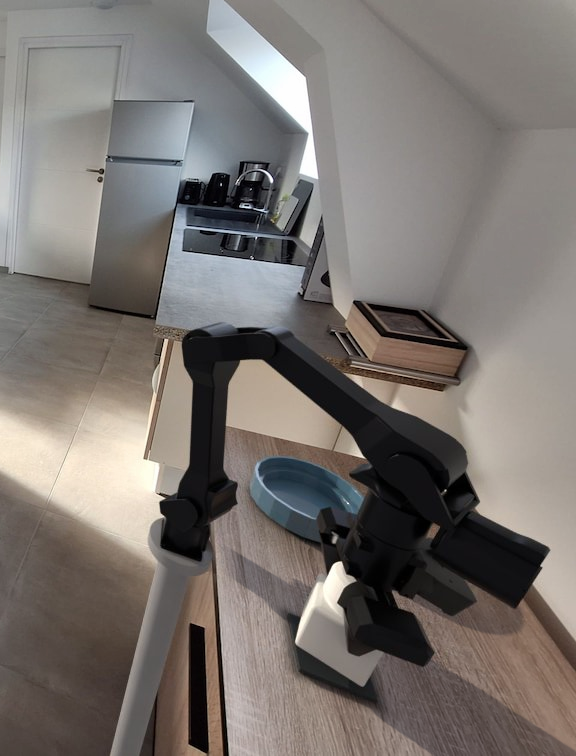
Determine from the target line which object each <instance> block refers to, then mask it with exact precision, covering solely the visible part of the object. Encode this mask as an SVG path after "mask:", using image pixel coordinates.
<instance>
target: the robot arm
mask: <svg viewBox="0 0 576 756" xmlns="http://www.w3.org/2000/svg"><path fill="white" fill-rule="evenodd" d="M181 353H182V354H181V355H182V361H183V367H184V369H185V371H186V372H187V374H188V376H189V378H190V380H191V383H192V388H191V389H192V391H191V412H190V413H191V414H190V437H189V459H188V466H187V468H186V470H185V472H184V474H183V475H182V477H181V479H180V481H179V483H178V486H177V491H176V492H175V493H173V494H171V495H169V496H167V497H165V498H163V499H162V500H160V501H158V505H159V513H160V514H161V515H162V516H163V517H165V518H164V519H163V520H162V527H161V538H160V547H161V548H162V549H165V550H168V551H171V552H173V553H176V554H179V555H182V556H185V557H187V558H190V559H193V560H196V561H199V562H201V561H202V551H203V552H205V551H206V548H207V544H208V541H209V540H210V537H211V523H213V522H214V521H216V520H217V519H219V518H221V517H222V516H225V515H226V514H227V513H229V512H230V511H231V510H233V508H234V507H235V506H237V505H239V502H238V498H237V491H238V489H239V488H238V487H239V483H238V482H237V481H235V480H233V479H230V478H229V476H228V474H227V473H226V471H225V467H224V465H225V464H224V462H225V447H226V434H227V433H226V432H227V431H226V430H227V418H228V417H227V416H228V399H229V385H230V382H231V381H232V379H233V377H234V376H235V373H236V372H237V370H238V368H239V367H240V365H241V361H251V360H252V361H263V362H264V363H265V364H267V365H268V366H269V367H271V369H273V370H274V371H275V372H277V373H278V374H279V375H280V376H281V377H282V378H284V379H285V380H286V381H287V382H289V383H290V384H291V385H292V386H293V387H294V388H296V389H297V390H298V391H299V392H300V393H302V394H303V395H304V396H305V397H307V399H309V400H310V401H311V402H313V403H314V404H315V405H317V406H318V407H319V408H320V409H321V410H322V411H323V412H325V413H327V415H329V416H330V417H331V418H332V419H333V420H335V422H336V423H338V424H339V425H340V426H342V427H343V428H344V429H345V430H346V431H347V432H348V433H349V435H350V436H351V437H352V439H353V440H354V442H355V445H356V446H357V448H358V449H359V452H360V453H361V455H362V456H363V458H364V459H365V460H366V461H367V462H368V463H365V462H364V463H361V464H360V465H358V466H356V467H355V468H353V469H352V470H351V471H349V472H348V476H349V478H351V479H352V480H355V481H356V482H357V483H360V484H362V485H364V486H365V487H366V488H368V489H367V491H366V494H365V495H364V497H365V498H364V500H363V502H362V504H361V507H360V509H359V511H358V513H357V514H354V513H350V512H347V511H344V510H340V509H337V508H333V507H327V508H324V509H320V511H319V514H318V516H317V519H316V520H317V523H318V526H319V536H320V541H321V543H320V545H321V546H320V547H321V552H322V557H323V563H324V568H325V573H326V574H325V575H327V576H328V574H329V572H330V570H331V568H332V566H333V564H335V563H336V562H342V564H343V567H344V570H345V573H346V575H349V576H352V577H354V578H356V579H358V580H359V581H360V582H362V583H363V586H364V588H365V591H366V594H367V596H368V597H365V596H359V597H354V598H350V600H349V602H348V604H347V608H346V607H343V616H344V625H345V636H346V645H347V651H348V653H350V654H352V655H355V656H358V657H360V656H362V655H364V654H367V653H369V652H372V651H374V650H379V651H381V652H383V654H387V655H390V656H392V657H395V658H398V659H400V660H403V661H404V662H405V661H406V662H408V663H411V664H413V665H416V666H418V667H421V668H424V667H426V666H428V665H429V663H430V662H431V660H432V658H433V657H434V655H435V654H436V652H435V649H434V647H433V646H432V643H431V641H430V639H429V637H428V635H427V633H426V631H425V628H424V626H423V624H422V622H421V620H420V619H419V618H418V617H417V616H416V615H415V613H414V612H411V611H409V610H406V609H403V608H400V607H399V606H398V603H397V601H396V598H395V596H393V595H394V593H393V591H395V592H397V593H398V595H399V596H401V597H403V598H406V599H408V600H409V599H410V600H414V599H415V597H416V595H417V596H419V597H420V598H421V599H423V600H425V601H427V602H428V603H430V604H432V605H433V606H434V607H437V608H438V609H440V610H441V611H442V613H443V614H445V615H447V616H449V617H454V616H456V615H457V614H460V613H462V612H463V611H464V610H467V609H468V608H470V607H472V606H473V605H475V604H476V603H478V599H477V597H476V596H475V594H474V592H473V591H472V589H471V587H470V585H469V584H468V583H470V584H472V585H473V586H474V587H477V588H478V589H480V590H481V591H483V592H485V594H488V595H490V596H492V597H493V598H495V599H497V600H498V601H500V602H501V603H503V604H504V605H507V606H508V607H510V608H511V609H513V610H516V609H517V608H518V606H519V605H520V603H521V602H522V601H523V599H524V598H525V597H526V595H527V593H528V592H529V591H530V588H531V587H532V586H533V584H534V583H535V581H536V579H537V578H538V576H539V575H540V573H541V572H542V570H543V569H544V566H542V564H543V563H544V561H545V559H546V558H547V557H548V555H549V554H550V553H551V548H550V547H549V546H547V545H546V544H544V543H542V542H540V541H538V540H536V539H534V538H532V537H530V536H526V535H523V534H520V533H518V532H516V531H513V530H511V529H510V528H508V527H506V526H503V525H502V524H500V523H497V522H496V521H494V520H491V519H490V518H488V517H486V516H484V515H482V514H480V513H478V512H476V511H475V509H476V508H477V506H479V504H481V500H480V497H479V495H478V493H477V491H476V489H475V487H474V485H473V483H472V481H471V478H470V476H469V475H468V473H467V469H468V465H469V459H468V455H467V453H468V452H467V450H466V448H465V447H464V446H463V444H461V442H460V441H459V440H457V439H456V438H455V437H454V436H452V435H451V434H450V433H448V432H446V431H444V430H442V429H440V428H438V427H436V426H434V425H433V424H431V423H429V422H428V421H426V420H424V419H422V418H420V417H419V416H416V415H413V414H411V413H408V412H406V411H403V410H400V409H397V408H394V407H393V406H390V405H388V404H387V403H385V402H383V401H382V400H380V399H378V398H377V397H375V395H373V394H371V393H370V392H369V391H368V390H367V389H365V388H364V387H362V386H361V385H359V383H357V382H355V380H353V379H352V378H350V377H349V376H348V375H347V374H345V373H343V372H342V371H341V370H340V369H339V368H337V367H335V366H334V365H333V364H331V363H330V362H329V361H327V360H326V359H325V358H324V357H322V356H321V355H320V354H318V353H317V352H315V350H313V349H312V348H310V347H309V346H307V344H305V343H303V342H302V341H301V340H299V339H298V338H297V337H296V336H295V333H293V332H292V331H291V330H290V329H288V328H286V327H284V326H280V325H274V326H268V327H264V326H263V327H261V326H241V327H240V326H239V327H235V326H234V325H233V324H231V323H228V322H222V321H221V322H215V323H213V324H208V325H204V326H201V327H197V328H194V329H191V330H189V331H187V333H185V334H184V335H183V337H182V340H181ZM433 525H436V526H438V527H439V528H438V530H437V531H436V533H435V534H434V536H433V537H427V536H428V535H429V533H430V531H431V529H432V527H433ZM392 593H393V594H392Z"/></svg>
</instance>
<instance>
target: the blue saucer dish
mask: <svg viewBox="0 0 576 756" xmlns="http://www.w3.org/2000/svg"><path fill="white" fill-rule="evenodd" d="M248 486H249V493H250V496H251V497H252V499H253V501H254V502H255V504H256V506H257V507H258V508H259V509H260V510H261V511H262V512H263V513H264V514H265V515H266V516H267V517H268V518H270V519H271V520H272V521H274V522H276V523H277V524H278V525H280V526H281V527H283V528H284V529H285V530H287V531H290V532H292V533H294V534H295V535H298V536H300V537H302V538H304V539H307V540H311V541H314V542H318V543H320V544H321V541H320V536H319V526H318V523H317V520H316V519H317V516H318V514H319V511H320V509H324V508H327V507H333V508H337V509H340V510H344V511H347V512H350V513H354V514H357V513H358V511H359V509H360V507H361V504H362V502H363V500H364V498H365V495H363V494H362V493H361V492H360V491H359V490H358V489H357V487H356V486H354V485H353V484H352V483H350V482H349V481H347V480H346V479H345V478H343V477H342V476H341V475H339V474H337V473H335V472H333V471H332V470H330V469H328V468H326V467H324V466H321V465H319V464H316V463H314V462H312V461H308V460H306V459H301V458H298V457H294V456H285V455H271V456H265V457H263V458H261V459H259V460H258V461H257V462H256V464H255V466H254V468H253V471H252V475H251V478H250V481H249V484H248Z"/></svg>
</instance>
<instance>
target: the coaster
mask: <svg viewBox="0 0 576 756" xmlns="http://www.w3.org/2000/svg"><path fill="white" fill-rule="evenodd" d="M287 619H288V626H289V630H290V636H291V640H292V645H293V650H294V655H295V660H296V666H297V670H298V673H300V674H303V675H306V676H308V677H310V678H313V679H315V680H318V681H320V682H323V683H325V684H327V685H330V686H332V687H335V688H337V689H339V690H342V691H345V692H347V693H350V694H351V695H354V696H357V697H359V698H361V699H364V700H367V701H369V702H371V703H374V704H377V703H378V701H379V700H378V697H377V693H376V691H375V687H374V685H373V681H372V679H371V676H370V677H369V679H368V680H367V682H366V684H365V685H364V686H363V687H362V686H360V685H358V684H357V683H355V682H353V681H352V680H350V679H349V678H347V677H346V676H344V675H342V674H341V673H339V672H338V671H336V670H335V669H333V668H331V667H330V666H328V665H327V664H325V663H324V662H322V661H320V660H319V659H317V658H316V657H314V656H313V655H311V654H310V653H308V652H306V651H305V650H303V649H302V648H300V647H299V646H297V645H296V643H295V640H296V636H297V632H298V628H299V624H300V620H301V616H298V615H296V614H293V613H291V612H288V614H287Z"/></svg>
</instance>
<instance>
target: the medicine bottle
mask: <svg viewBox="0 0 576 756" xmlns="http://www.w3.org/2000/svg"><path fill="white" fill-rule="evenodd" d="M392 594H393V596H394V592H392ZM359 596H365V597H368V596H367V594H366V591H365V588H364V586H363V583H362V582H360V581H359V580H358V579H356V578H354V577H352V576H349V575H346V573H345V570H344V567H343V564H342V562H336V563H335V564H333V566H332V568H331V570H330V572H329V574H328V576H327V574H325V573H323V572H319V573H318V575H317V577H316V578H315V581H314V584H313V585H312V588H311V590H310V592H309V594H308V596H307V598H306V601H305V603H304V605H303V608H302V612H301V615H300V617H301V620H300V624H299V628H298V632H297V636H296V640H295V643H296V645H297V646H299V647H300V648H302V649H303V650H305V651H306V652H308V653H310V654H311V655H313V656H314V657H316V658H317V659H319V660H320V661H322V662H324V663H325V664H327V665H328V666H330V667H331V668H333V669H335V670H336V671H338V672H339V673H341V674H342V675H344V676H346V677H347V678H349V679H350V680H352V681H353V682H355V683H357V684H358V685H360V686H362V687H363V686H364V685H365V684H366V682H367V680H368V679H369V677H370V678H371V675H372V674H373V672H374V669H376V667H377V665H378V664H379V661H380V659H381V657H382V656H383V654H384V652H381V651H379V650H374V651H372V652H369V653H367V654H364V655H362V656H360V657H358V656H355V655H352V654H350V653H348V651H347V645H346V636H345V625H344V616H343V607H346V608H347V604H348V602H349V600H350V598H354V597H359ZM394 597H395V596H394Z"/></svg>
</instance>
